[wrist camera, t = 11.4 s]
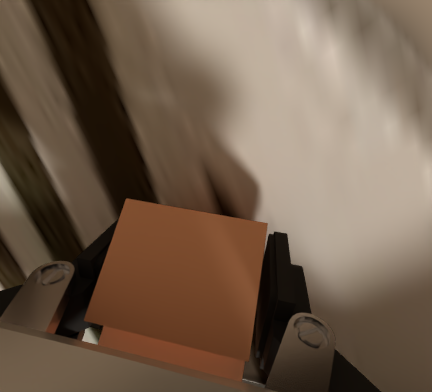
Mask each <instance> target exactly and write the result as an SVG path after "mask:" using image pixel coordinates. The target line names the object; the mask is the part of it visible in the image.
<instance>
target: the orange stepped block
mask: <svg viewBox="0 0 432 392" xmlns="http://www.w3.org/2000/svg"><path fill="white" fill-rule="evenodd" d="M267 225H268V223H263V222H257V221H251V220H246V219H240V218H234V217H229V216H223V215H217V214H212V213H206V212H200V211H195V210H189V209H183V208H178V207H172V206H166V205H161V204H155V203H150V202H144V201H138V200H133V199H127V198H126V200H125V203H124V206H123V209H122V212H121V215H120V218H119V220H118V223H117V226H116V229H115V232H114V235H113V238H112V241H111V243H110V246H109V249H108V252H107V255H106V258H105V261H104V264H103V266H102V269H101V272H100V275H99V278H98V281H97V284H96V286H95V289H94V292H93V295H92V298H91V301H90V304H89V307H88V309H87V312H86V315H85V318H84V321H87V322H91V323H95V324H99V325H103V326H104V327H103V330H102V333H101V336H100V339H99V342H98V345H100V346H104V347H108V348H112V349H116V350H120V351H124V352H128V353H131V354H135V355H139V356H143V357H147V358H151V359H155V360H159V361H163V362H167V363H171V364H174V365H178V366H182V367H186V368H190V369H194V370H197V371H201V372H205V373H209V374H213V375H217V376H220V377H224V378H228V379H232V380H236V381H240V382H242V378H243V371H244V363H245V361H247V362H249V357H250V349H251V342H252V335H253V327H254V320H255V313H256V305H257V298H258V291H259V283H260V276H261V269H262V261H263V254H264V247H265V239H266V232H267Z"/></svg>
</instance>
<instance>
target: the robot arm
mask: <svg viewBox="0 0 432 392" xmlns="http://www.w3.org/2000/svg"><path fill="white" fill-rule="evenodd" d="M118 220H119V219H118ZM118 220H117V221H116V222H114V223H113V224H112V225H111V226H110V227H109V228H108V229H107V230H106V231H105V232H104V233H103V234H101V235H100V236H99V237H98V238H97V239H96V240H95V241H94V242H93V243H92V244H91V245H90V246H88V247H87V248H86V249H85V250H84V251H83V252H82V253H81V254H80V255H79V256H78V257H77V258H76V259H75V260H74V261H73V262H72V263H69V262H66V261H54V262H50V263H47V264H44V265H42V266H40V267H38V268H37V269H35V270H34V271H33V272H32V273H31V274H30V276H29V277H28V279H27V280H26V281H25V283H24V284H23V285H19V286H16V287H12V288H9V289H6V290H2V291H0V392H381V391H380V390H379V389H378V388H377V387H375V386H374V385H373V384H372V383H371V382H370V381H369V380H368V379H367V378H366V377H365V376H364V375H362V374H361V373H360V372H359V371H358V370H357V369H356V368H355V367H354V366H353V365H352V364H351V363H349V362H348V361H347V360H346V359H345V358H344V357H343V356H342V355H341V354H340V353H339V352H338V351H337V350H335V344H336V343H335V336H334V333H333V331H332V329H331V328H330V327H329V325H328V324H327V323H326V322H324V321H323V320H322V319H321V318H319V317H317V316H315V315H312V314H311V309H310V304H309V298H308V293H307V288H306V282H305V277H304V272H303V268H302V266H298V265H292V264H291V260H290V252H289V244H288V237H287V234H286V233H280V232H274V234H269V236H268V241H267V245H266V250H265V255H264V259H263V264H262V269H261V276H260V283H259V291H258V299H257V320H256V342H255V357H256V358H260V369H264V372H265V373H266V374H267V376H268V380H267V382H266V385H265V388H261V387H258V386H254V385H251V384H247V383H243V382H240V381H236V380H232V379H228V378H224V377H220V376H217V375H213V374H209V373H205V372H201V371H197V370H194V369H190V368H186V367H182V366H178V365H174V364H171V363H167V362H163V361H159V360H155V359H151V358H147V357H143V356H139V355H135V354H131V353H128V352H124V351H120V350H116V349H112V348H108V347H104V346H100V345H96V344H92V343H88V342H84V341H82V339H83V336H84V333H85V329H87V328H89V327H93V328H97V329H101V328H102V327H103V325H99V324H95V323H91V322H87V321H84V318H85V315H86V312H87V309H88V307H89V304H90V301H91V298H92V295H93V292H94V289H95V286H96V284H97V281H98V278H99V275H100V272H101V269H102V266H103V264H104V261H105V258H106V255H107V252H108V249H109V246H110V243H111V241H112V238H113V235H114V232H115V229H116V226H117V223H118Z"/></svg>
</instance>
